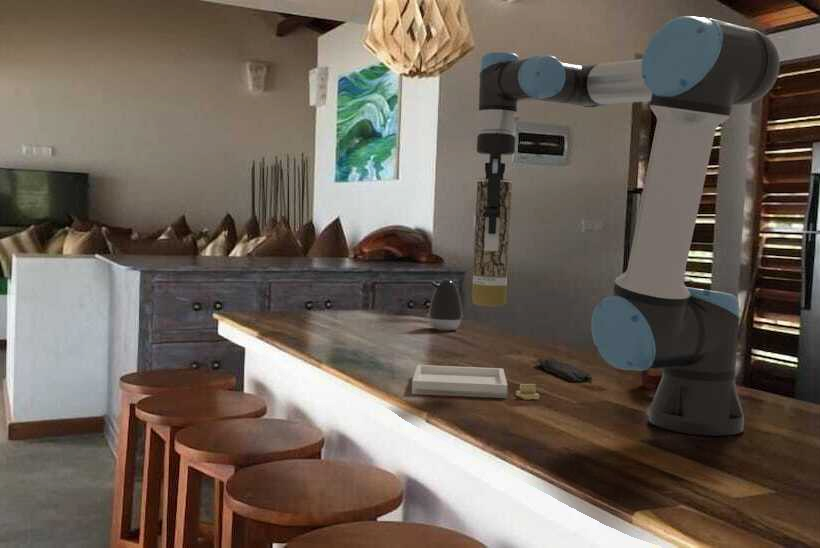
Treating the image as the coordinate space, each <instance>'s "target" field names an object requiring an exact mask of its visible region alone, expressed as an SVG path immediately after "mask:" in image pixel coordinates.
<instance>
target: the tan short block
mask: <svg viewBox="0 0 820 548" xmlns="http://www.w3.org/2000/svg"><path fill="white" fill-rule="evenodd" d="M515 396H516V397H518V398H520V399H522V400H528V401H529V400H531V399H532V400H533V399H534V400H540V394H539V393H537V384H536V383H520V384H519V390H515ZM532 400H531V401H532Z"/></svg>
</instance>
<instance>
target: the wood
mask: <svg viewBox="0 0 820 548" xmlns="http://www.w3.org/2000/svg"><path fill="white" fill-rule="evenodd" d="M536 361H537V362H538V363H539V364H540V365H541V367H543V369H544V370H545V371H547V372H548V373H553V374H555V375H556V376H558V377H560V378H562V379H565V380H567V381H568V382H569V383H572V384H573V383H574V384H581V383H591V384H592V383H593V381H592V380H593V377H592V376H591V374H590V373H588V372H587V371H585V370H582V369H580V368H578V367H575V366H573V365H571V364H569V363H564V362H562V361H558V360H557V359H555V358H552V357H550V358H540V357H539V358H536Z"/></svg>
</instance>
